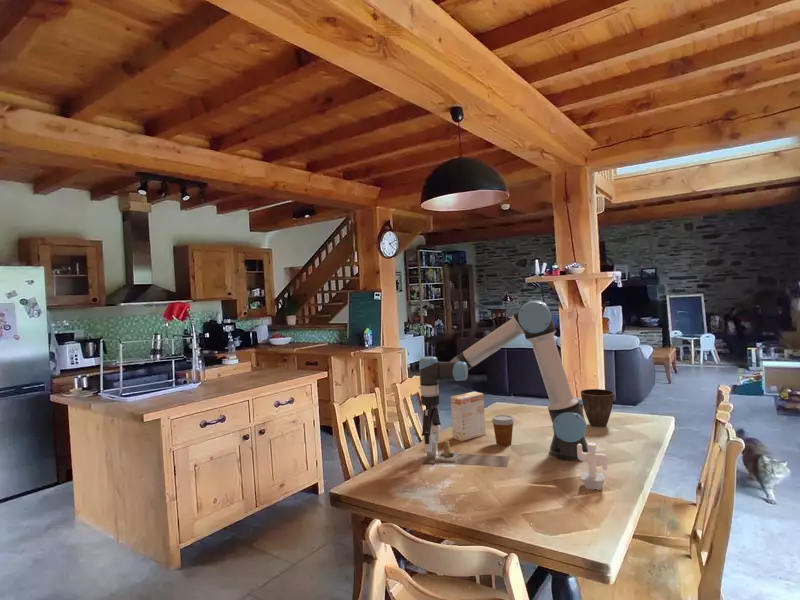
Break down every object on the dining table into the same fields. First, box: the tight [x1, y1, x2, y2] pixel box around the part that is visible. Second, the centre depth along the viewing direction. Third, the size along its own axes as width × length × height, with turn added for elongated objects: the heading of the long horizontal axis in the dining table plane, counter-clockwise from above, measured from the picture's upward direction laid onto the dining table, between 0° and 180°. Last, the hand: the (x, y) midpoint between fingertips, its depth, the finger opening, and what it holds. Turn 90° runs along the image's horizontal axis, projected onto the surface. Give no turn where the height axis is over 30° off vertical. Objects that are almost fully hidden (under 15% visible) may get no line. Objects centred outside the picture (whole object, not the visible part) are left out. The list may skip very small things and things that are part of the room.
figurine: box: [577, 441, 609, 491], centre depth 170 cm, size 7×9×15 cm
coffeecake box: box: [450, 391, 486, 442], centre depth 233 cm, size 15×7×20 cm, turn 123°
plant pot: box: [580, 388, 615, 428], centre depth 240 cm, size 15×15×16 cm
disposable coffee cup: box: [491, 414, 515, 447], centre depth 218 cm, size 10×10×12 cm
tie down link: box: [426, 431, 460, 462], centre depth 204 cm, size 12×8×10 cm
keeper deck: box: [422, 439, 510, 468], centre depth 201 cm, size 33×12×8 cm, turn 72°
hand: (432, 446), depth 206 cm, fingers open, 13 cm apart
